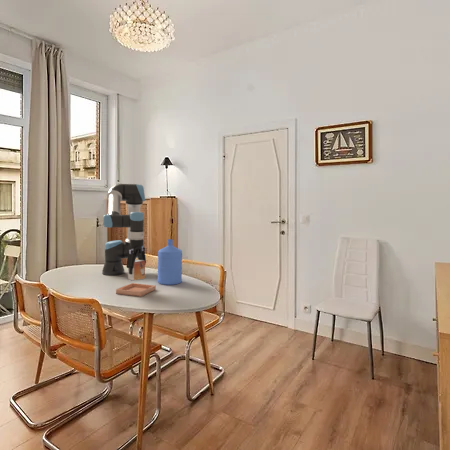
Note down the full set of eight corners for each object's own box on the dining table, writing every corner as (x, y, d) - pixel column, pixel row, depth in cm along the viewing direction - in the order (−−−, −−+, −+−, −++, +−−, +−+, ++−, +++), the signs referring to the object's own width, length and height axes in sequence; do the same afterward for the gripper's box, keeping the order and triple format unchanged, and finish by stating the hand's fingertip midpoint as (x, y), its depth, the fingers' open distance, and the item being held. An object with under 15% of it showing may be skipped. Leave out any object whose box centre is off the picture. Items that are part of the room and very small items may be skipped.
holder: (132, 287, 200) (132, 282, 199) (155, 289, 195) (155, 285, 195) (116, 293, 184) (116, 289, 184) (141, 296, 180) (141, 292, 179)
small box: (133, 280, 184) (133, 262, 184) (127, 279, 188) (127, 260, 187) (145, 278, 191) (145, 260, 190) (139, 276, 194) (139, 259, 193)
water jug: (177, 285, 205) (177, 241, 203) (153, 284, 208) (154, 240, 206) (185, 280, 220) (185, 238, 218) (163, 278, 223) (163, 237, 222)
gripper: (131, 241, 176) (131, 282, 177) (152, 237, 197) (152, 274, 198) (119, 240, 178) (119, 281, 180) (141, 237, 199) (141, 273, 201)
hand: (136, 277), depth 189 cm, fingers closed on small box, 9 cm apart
